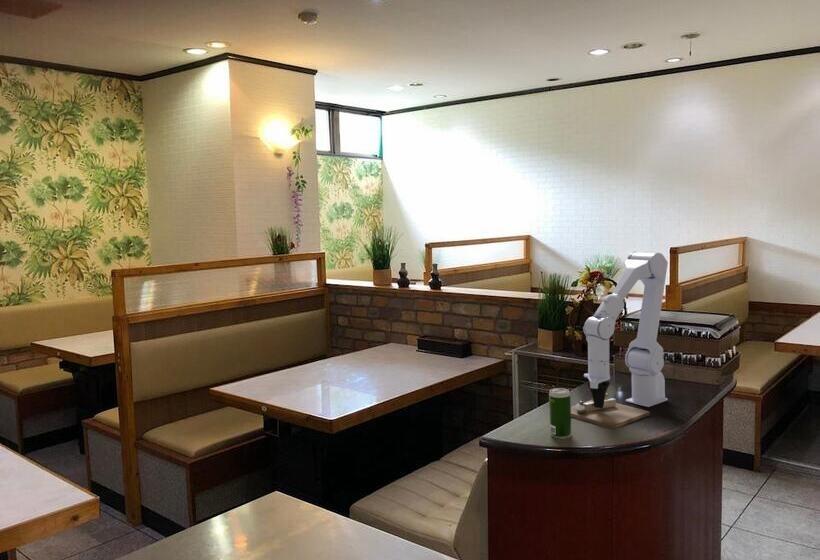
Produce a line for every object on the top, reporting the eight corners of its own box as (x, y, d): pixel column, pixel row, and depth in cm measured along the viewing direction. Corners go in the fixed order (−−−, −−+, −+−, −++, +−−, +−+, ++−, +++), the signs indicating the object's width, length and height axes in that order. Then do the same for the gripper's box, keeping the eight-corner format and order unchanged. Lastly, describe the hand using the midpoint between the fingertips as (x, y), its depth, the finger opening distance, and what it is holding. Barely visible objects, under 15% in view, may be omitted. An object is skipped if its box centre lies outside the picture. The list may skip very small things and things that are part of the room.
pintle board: (597, 401, 196) (597, 386, 195) (649, 415, 181) (649, 399, 180) (560, 413, 187) (560, 398, 186) (612, 429, 172) (611, 412, 171)
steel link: (580, 413, 182) (579, 403, 181) (574, 410, 184) (574, 400, 184) (617, 406, 186) (617, 396, 185) (612, 404, 188) (611, 394, 188)
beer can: (561, 441, 166) (559, 395, 165) (546, 435, 170) (544, 390, 169) (576, 435, 169) (574, 390, 167) (560, 430, 173) (559, 386, 172)
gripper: (589, 353, 190) (589, 399, 191) (578, 364, 177) (578, 413, 179) (614, 355, 187) (614, 401, 188) (605, 366, 174) (605, 415, 175)
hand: (598, 407), depth 183 cm, fingers closed, pressing on steel link
